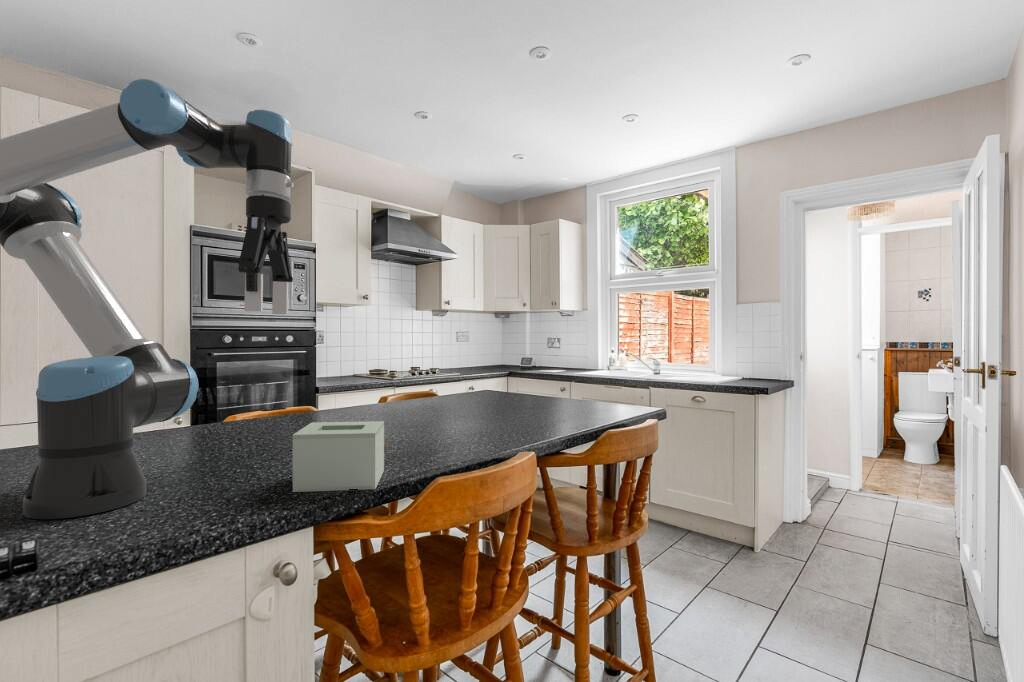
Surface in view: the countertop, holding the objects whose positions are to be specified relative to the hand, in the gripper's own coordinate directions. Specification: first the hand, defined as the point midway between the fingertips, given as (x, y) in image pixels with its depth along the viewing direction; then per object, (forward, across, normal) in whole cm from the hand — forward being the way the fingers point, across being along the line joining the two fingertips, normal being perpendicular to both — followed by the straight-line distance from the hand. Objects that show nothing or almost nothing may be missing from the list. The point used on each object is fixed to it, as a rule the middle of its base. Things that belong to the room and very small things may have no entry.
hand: (267, 313), depth 93 cm
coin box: (+31, -2, -14) cm, 34 cm away
